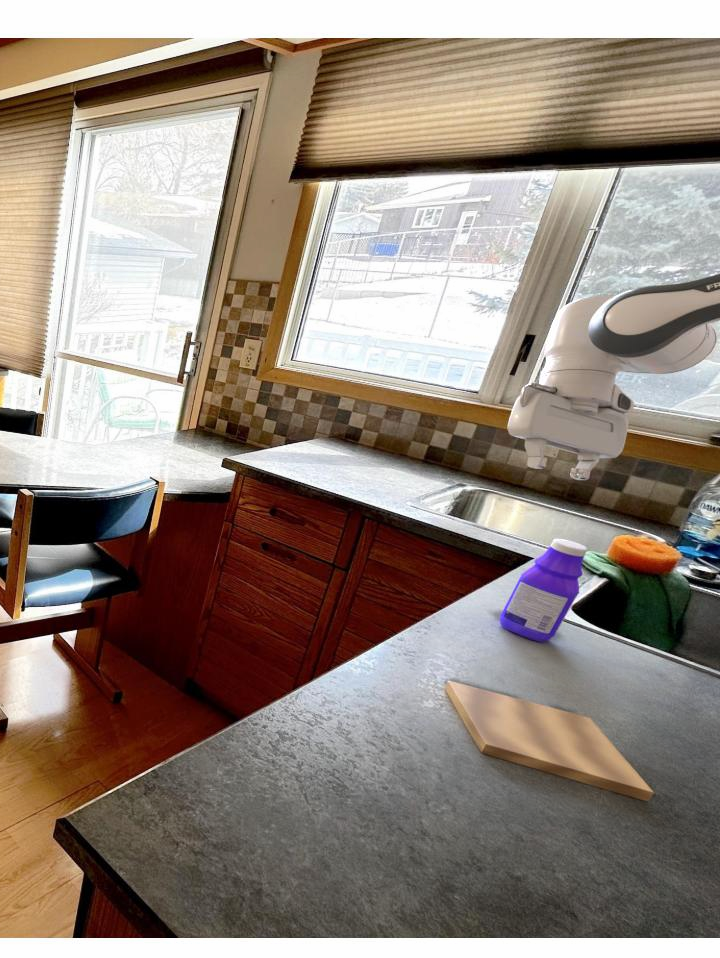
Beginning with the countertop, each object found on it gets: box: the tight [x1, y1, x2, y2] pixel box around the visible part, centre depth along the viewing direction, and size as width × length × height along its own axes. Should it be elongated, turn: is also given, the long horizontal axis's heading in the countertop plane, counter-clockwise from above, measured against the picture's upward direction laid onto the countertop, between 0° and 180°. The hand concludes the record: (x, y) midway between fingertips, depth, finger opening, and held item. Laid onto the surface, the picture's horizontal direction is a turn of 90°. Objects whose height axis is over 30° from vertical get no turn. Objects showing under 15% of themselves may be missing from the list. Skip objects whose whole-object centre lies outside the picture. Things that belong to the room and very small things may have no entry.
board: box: [444, 680, 655, 803], centre depth 81 cm, size 16×14×2 cm
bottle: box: [499, 538, 588, 643], centre depth 103 cm, size 7×6×17 cm
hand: (557, 473), depth 103 cm, fingers open, 8 cm apart
